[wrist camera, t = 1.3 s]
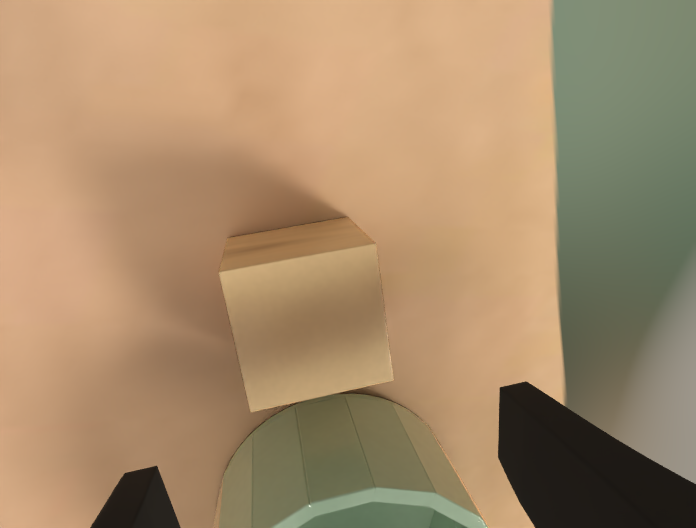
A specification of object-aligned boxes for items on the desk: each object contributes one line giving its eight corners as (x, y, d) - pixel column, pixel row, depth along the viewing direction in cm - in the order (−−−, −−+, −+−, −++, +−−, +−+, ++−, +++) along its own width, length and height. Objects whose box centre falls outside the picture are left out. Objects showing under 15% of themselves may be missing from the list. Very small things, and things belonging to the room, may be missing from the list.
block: (364, 326, 22) (394, 381, 17) (251, 350, 21) (250, 413, 17) (348, 216, 21) (376, 242, 16) (227, 237, 20) (218, 271, 15)
